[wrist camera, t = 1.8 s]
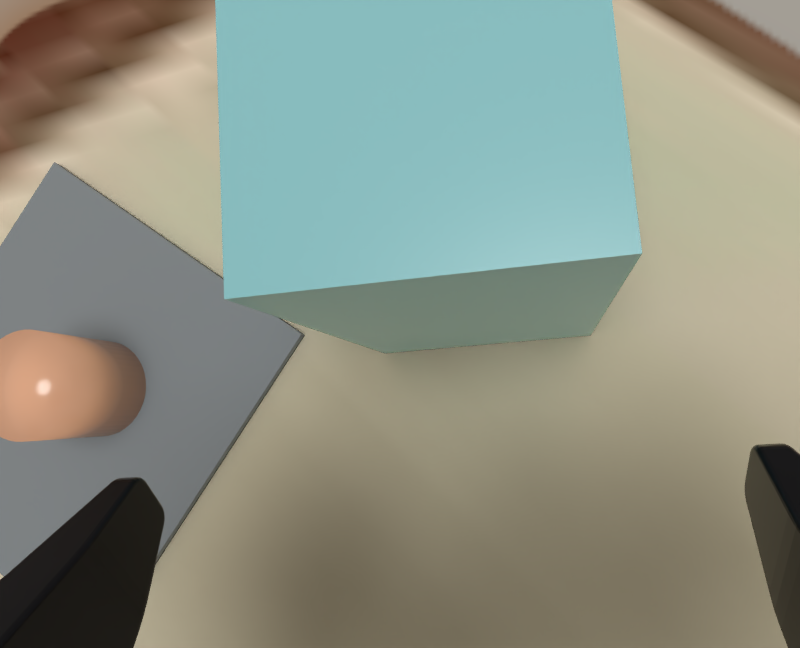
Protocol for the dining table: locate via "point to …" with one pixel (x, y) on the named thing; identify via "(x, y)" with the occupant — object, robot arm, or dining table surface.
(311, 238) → the teal rectangular block
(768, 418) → the dining table surface
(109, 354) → the peach capsule
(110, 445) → the slate mat
